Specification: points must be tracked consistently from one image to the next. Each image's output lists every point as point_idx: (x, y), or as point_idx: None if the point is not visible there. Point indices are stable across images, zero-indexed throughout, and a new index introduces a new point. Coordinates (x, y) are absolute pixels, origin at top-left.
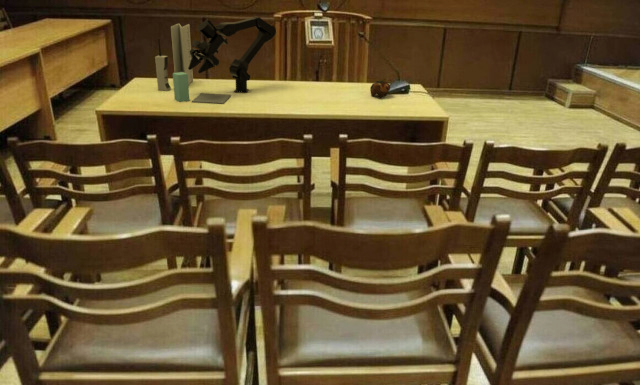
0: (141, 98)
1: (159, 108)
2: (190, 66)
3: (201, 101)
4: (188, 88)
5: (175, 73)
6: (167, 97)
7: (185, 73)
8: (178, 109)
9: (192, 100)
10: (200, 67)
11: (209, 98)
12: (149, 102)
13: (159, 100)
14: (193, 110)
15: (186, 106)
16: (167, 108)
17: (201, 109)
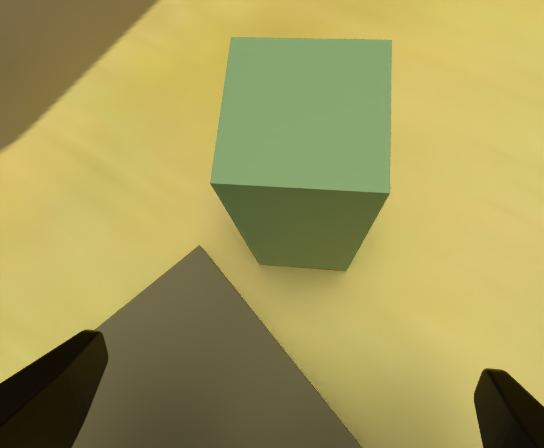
0: (518, 31)
1: (213, 18)
2: (506, 427)
3: (138, 300)
4: (244, 237)
5: (348, 61)
6: (449, 181)
7: (260, 174)
8: (116, 89)
9: (210, 260)
10: (17, 395)
11: (169, 419)
12: (382, 29)
13: (395, 98)
14: (31, 147)
15: (138, 161)
16: (181, 51)
17: (9, 199)
